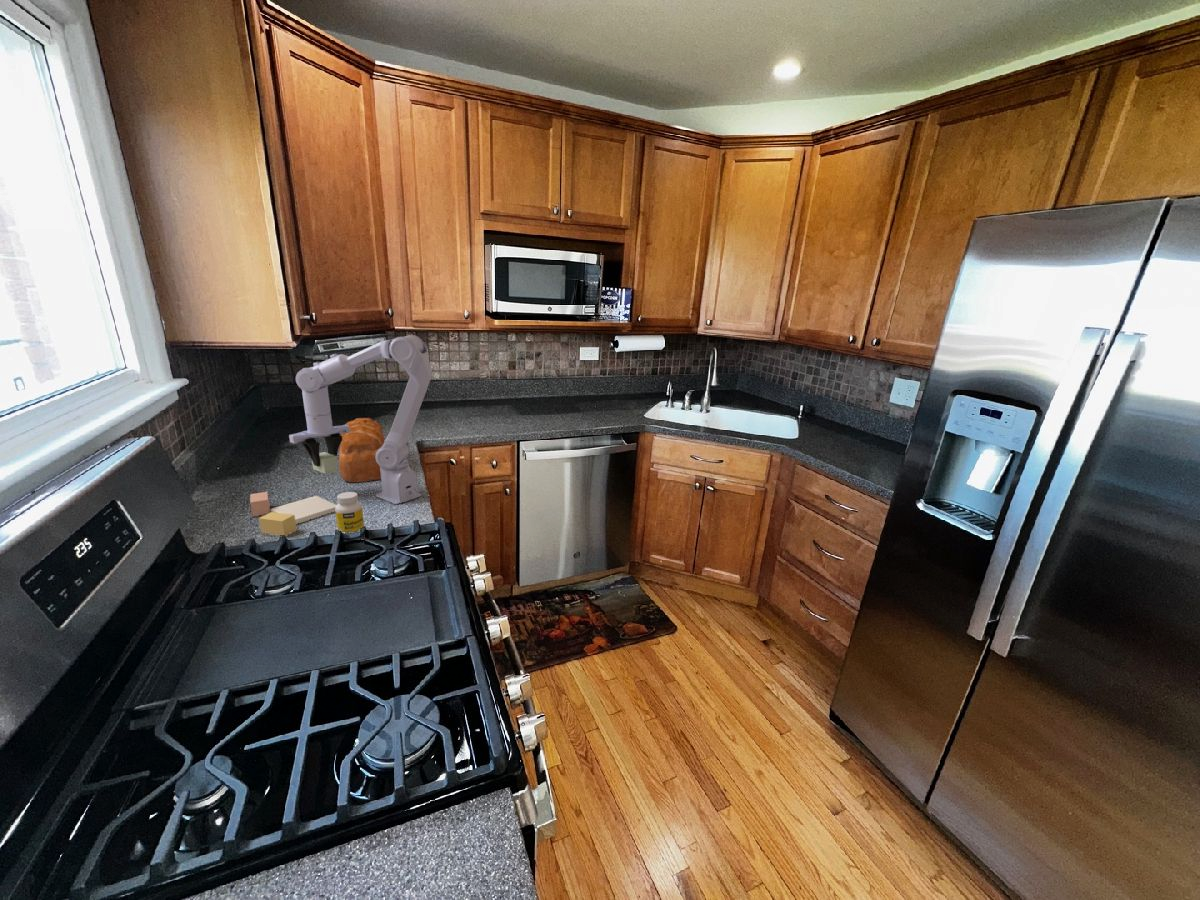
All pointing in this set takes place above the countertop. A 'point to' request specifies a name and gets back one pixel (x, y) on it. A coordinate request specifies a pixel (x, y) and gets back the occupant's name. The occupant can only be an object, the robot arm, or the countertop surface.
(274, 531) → the mustard brick
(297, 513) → the board
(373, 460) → the bread
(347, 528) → the supplement bottle
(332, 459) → the sage brick
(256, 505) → the clay brick
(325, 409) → the robot arm
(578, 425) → the countertop surface
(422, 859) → the countertop surface
